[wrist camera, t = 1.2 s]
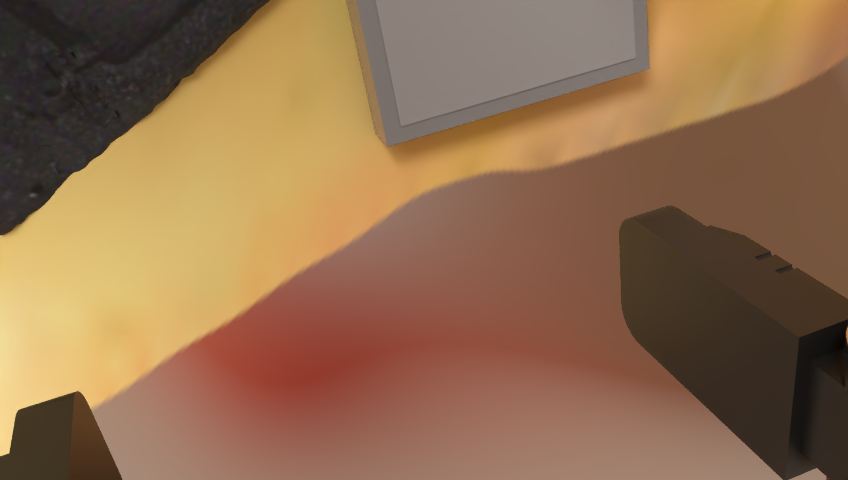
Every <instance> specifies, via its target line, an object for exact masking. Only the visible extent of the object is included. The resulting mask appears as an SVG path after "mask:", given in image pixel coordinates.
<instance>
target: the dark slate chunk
mask: <svg viewBox="0 0 848 480" xmlns="http://www.w3.org/2000/svg"><path fill="white" fill-rule="evenodd" d="M269 1H270V0H0V235H3V234H6V233H8V232H9V231H11V230H12V229H13V228H14V227H15V226H17V225H18V224H20V223H22V222H23V221H24V220H25V218H26V217H27V216H28V215H30V214H31V213H33V212H34V211H36V210H38V209H39V208H41V207H42V206H43V205H44V204H45V203H46V202H47V201H48V200H49V199H50V198H51V197H52V195H53V194H54V193H55V191H56V190H57V189H58V188H59V187H60V186H61V185H62V183H63V182H64V181H65V180H66V179H67V178H68V177H69V176H70V175H71V174H72V173H74V172H77V171H80V170H82V169H83V168H85V167H86V166H87V165H88V163H89V162H90V161H91V160H92V159H94V158H96V157H98V156H99V155H101V154H102V153H103V152H104V151H105V150H106V149H107V147H108V146H109V145H110V143H111V142H113V141H114V140H115V139H117V138H118V137H120V136H122V135H123V134H124V133H126V132H127V131H128V130H129V129H130V128H131V127H133V126H134V125H135V124H136V123H137V122H139V121H140V120H141V119H142V118H144V117H145V116H147V115H148V114H149V113H151V112H152V110H153V109H154V107H155V106H156V105H157V104H159V103H160V102H162V101H164V100H165V99H166V98H167V97H168V96H169V94H170V93H171V92H172V91H173V90H174V89H175V88H176V87H177V86H178V84H179V83H180V81H181V79H182V78H185V77H187V76H190V75H191V74H193V73H194V71H195V70H196V68H197V67H198V66H199V65H200V64H201V63H202V62H204V61H205V60H206V59H207V58H209V57H210V56H211V55H213V54H214V53H215V52H216V51H217V49H218V48H219V47H220V46H221V45H222V44H223V43H224V42H225V41H226V40H227V39H228V38H229V37H230V36H231V35H232V34H233V33H234V32H236V31H237V30H239V29H240V28H241V27H242V26H243V25H244V24H245V23H246V22H247V21H248V20H249V19H250V17H251V16H252V15H253V14H254V13H255V12H256V11H257V10H258V9H260V8H261V7H262V6H264V5H265V4H266V3H267V2H269Z"/></svg>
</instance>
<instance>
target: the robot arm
mask: <svg viewBox="0 0 848 480" xmlns="http://www.w3.org/2000/svg"><path fill="white" fill-rule="evenodd" d="M619 241H620V272H621V273H620V274H621V303H622V311H623V315H624V318H625V321H626V324H627V326H628V328H629V330H630V332H631V334H632V335H633V337H634V338H635V339H636V341H637V342H638V343H639V344H640V345H641V346H643V348H644V349H645V350H646V351H647V352H649V353H650V354H651V355H652V356H653V357H654V358H655V359H656V360H657V361H658V362H659V363H660V364H661V365H662V366H663V367H665V369H667V370H668V371H669V372H670V373H671V374H672V375H673V376H674V377H675V378H676V379H677V380H678V381H679V382H680V383H681V384H682V385H684V386H685V387H686V388H687V389H688V390H689V391H690V392H691V393H692V394H693V395H694V396H695V397H696V398H697V399H698V400H699V401H700V402H702V403H703V404H704V405H705V406H706V407H707V408H708V409H709V410H710V411H711V412H712V413H713V414H714V415H715V416H716V417H718V419H719V420H721V421H722V422H723V423H724V424H725V425H726V426H727V427H728V428H729V429H730V430H731V431H732V432H733V433H734V434H735V435H736V436H738V438H740V439H741V440H742V441H743V442H744V443H745V444H746V445H747V446H748V447H749V448H750V449H751V450H752V451H753V452H754V453H756V454H757V455H758V456H759V457H760V458H761V459H762V460H763V461H764V462H765V463H766V464H767V465H768V466H769V467H770V468H771V469H772V470H773V471H774V472H776V473H777V474H778V475H779V476H780V477H781V478H782V479H783V480H788V479H791V478H793V477H796V476H798V475H801V474H803V473H805V472H808V471H810V470H812V469H815V468H818V469H819V470H820V471H821V472H822V473H824V474H825V475H826V476H827V477H826V480H848V299H847V298H845V297H843V296H842V295H840V294H838V293H837V292H835V291H834V290H832V289H830V288H829V287H827V286H826V285H824V284H822V283H821V282H819V281H817V280H816V279H814V278H813V277H811V276H809V275H808V274H806V273H804V272H803V271H801V270H800V269H798V268H796V269H793V268H792V264H790V263H788V262H787V261H785V260H783V259H782V258H780V257H779V256H777V255H773V256H772V255H771V252H770V251H769V250H767V249H766V248H764V247H762V246H761V245H759V244H758V243H755V242H754V241H753V240H751V239H749V238H748V237H746V236H744V235H741V234H738V233H734V232H730V231H727V230H724V229H721V228H717V227H714V226H708V227H706V226H705V225H703V224H702V223H700V222H698V221H697V220H695V219H694V218H692V217H690V216H689V215H687V214H686V213H684V212H683V211H681V210H680V209H678V208H676V207H674V206H666V207H663V208H659V209H656V210H653V211H650V212H647V213H643V214H641V215H637V216H634V217H631V218H628V219H625V220H624V221H623V222H622V224H621V227H620V232H619ZM0 480H122V478H121V475H120V473H119V471H118V468H117V466H116V464H115V462H114V460H113V458H112V455H111V454H110V451H109V449H108V446H107V444H106V442H105V440H104V438H103V435H102V433H101V431H100V429H99V427H98V425H97V422H96V420H95V418H94V416H93V414H92V411H91V409H90V407H89V405H88V403H87V401H86V399H85V397H84V396H83V395H82V394H81V393H80V392H79V391H76V392H73V393H70V394H67V395H64V396H61V397H58V398H54V399H51V400H48V401H45V402H42V403H39V404H35V405H32V406H29V407H26V408H23V409H20V410H18V412H17V414H16V417H15V423H14V429H13V435H12V441H11V447H10V453H9V454H6V455H3V456H0Z"/></svg>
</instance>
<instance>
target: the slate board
mask: <svg viewBox="0 0 848 480" xmlns="http://www.w3.org/2000/svg"><path fill="white" fill-rule="evenodd" d="M346 1H347V5H348V10H349V14H350V19H351V23H352V28H353V32H354V37H355V41H356V46H357V51H358V55H359V60H360V64H361V69H362V73H363V78H364V82H365V87H366V91H367V96H368V100H369V105H370V110H371V114H372V119H373V123H374V128H375V132H376V135H377V136H378V137H379V138H380V139H381V140H382V141H383V142H384V143H385V144H386V146H387V147H388V146H392V145H395V144H399V143H402V142H405V141H409V140H412V139H415V138H419V137H422V136H425V135H429V134H432V133H435V132H439V131H442V130H446V129H449V128H452V127H456V126H459V125H462V124H466V123H469V122H472V121H476V120H479V119H483V118H486V117H489V116H493V115H496V114H499V113H503V112H506V111H509V110H513V109H516V108H519V107H523V106H526V105H530V104H533V103H536V102H540V101H543V100H546V99H550V98H553V97H556V96H560V95H563V94H567V93H570V92H573V91H577V90H580V89H583V88H587V87H590V86H593V85H597V84H600V83H603V82H607V81H610V80H614V79H617V78H620V77H624V76H627V75H630V74H634V73H637V72H640V71H644V70H647V69H649V47H648V23H647V0H346Z"/></svg>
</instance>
